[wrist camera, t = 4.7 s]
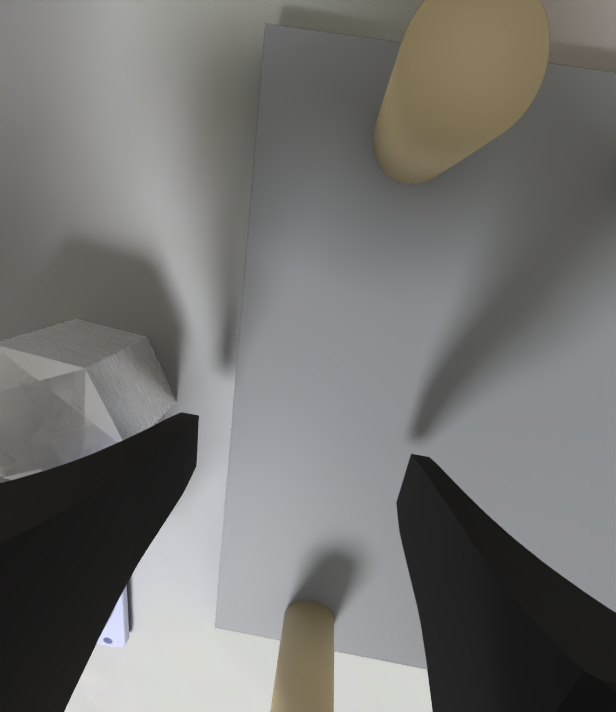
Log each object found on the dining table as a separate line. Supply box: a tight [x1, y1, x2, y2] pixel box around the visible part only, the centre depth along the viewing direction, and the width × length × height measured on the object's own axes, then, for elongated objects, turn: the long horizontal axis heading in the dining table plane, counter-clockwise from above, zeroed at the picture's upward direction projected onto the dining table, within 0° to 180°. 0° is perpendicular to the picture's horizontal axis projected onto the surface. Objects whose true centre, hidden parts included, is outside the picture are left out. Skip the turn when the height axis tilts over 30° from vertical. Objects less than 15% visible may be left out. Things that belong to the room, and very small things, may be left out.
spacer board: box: [215, 0, 616, 712], centre depth 11 cm, size 20×24×5 cm
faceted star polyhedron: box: [0, 318, 176, 480], centre depth 12 cm, size 6×5×4 cm
